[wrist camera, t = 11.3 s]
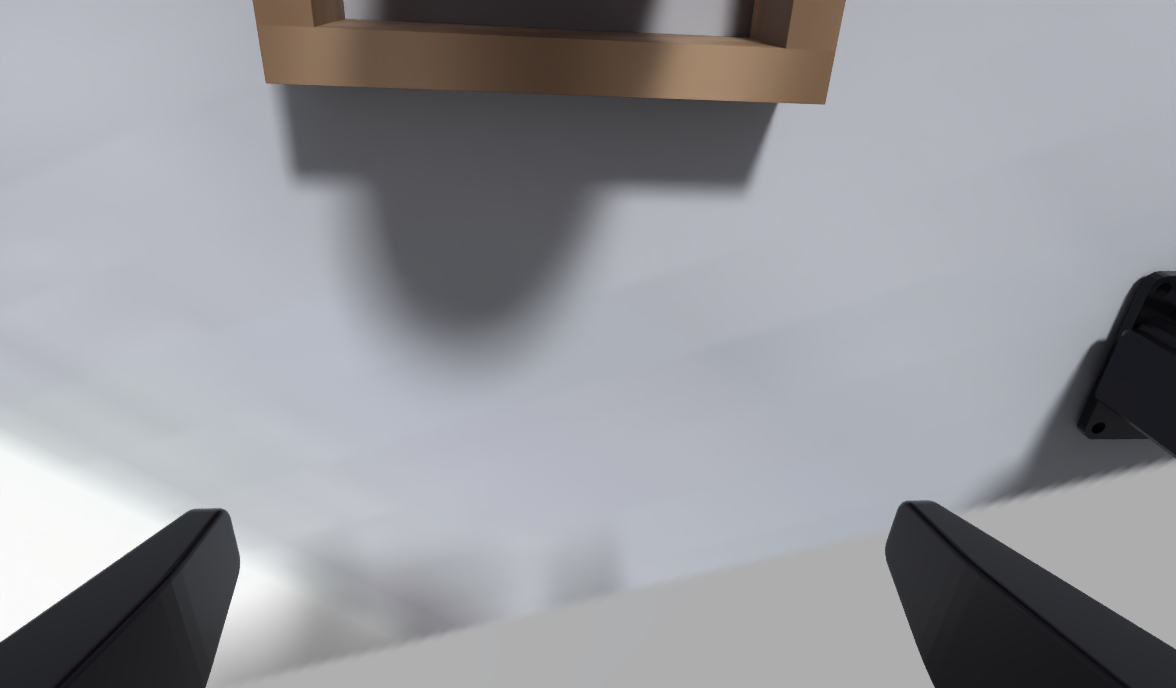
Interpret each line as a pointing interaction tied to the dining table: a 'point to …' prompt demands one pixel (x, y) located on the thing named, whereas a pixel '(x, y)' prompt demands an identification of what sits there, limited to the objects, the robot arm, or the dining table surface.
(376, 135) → the dining table surface
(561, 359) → the dining table surface
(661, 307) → the dining table surface
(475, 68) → the wooden frame
